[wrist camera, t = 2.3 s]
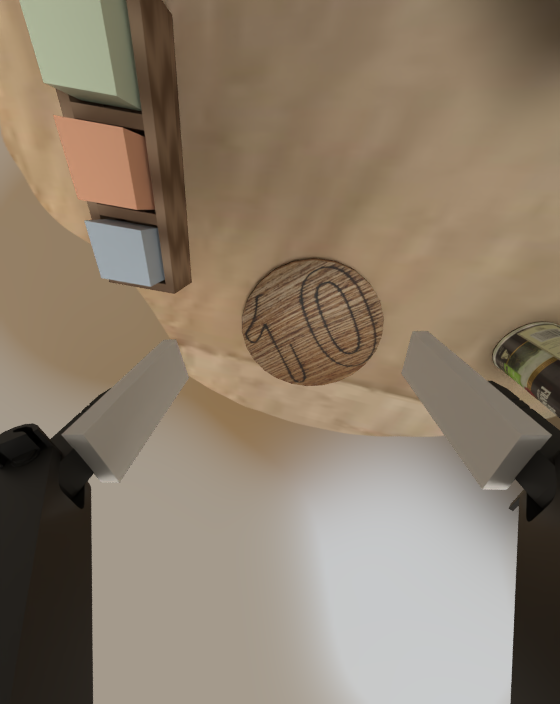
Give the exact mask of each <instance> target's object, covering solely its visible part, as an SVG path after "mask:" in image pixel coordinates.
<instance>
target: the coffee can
mask: <svg viewBox="0 0 560 704" xmlns="http://www.w3.org/2000/svg"><path fill="white" fill-rule="evenodd" d="M493 362H494V364H495V365H496V366H497V367H498V368H500V369H501V370H503V371H504V372H505V373H506V374H507V375H508V376H510V377H511V378H512V379H513V380H515V381H516V382H517V383H518V384H519V385H521V386H522V387H523V388H524V389H525V390H527V391H528V392H529V393H530V394H531V395H533V396H534V397H535V398H536V399H538V400H539V401H540V402H541V403H542V404H543V405H545V406H546V407H547V408H548V409H550V410H551V411H552V412H553V413H554V414H556V415H557V416H558V417H559V418H560V326H559V325H557V324H555V323H551V322H537V323H532V324H528V325H525V326H523V327H520V328H518V329H516V330H514V331H512V332H511V333H510V334H508V335H507V336H505V337H504V338H503V339H502V340H501V341H500V342H499V343H498V345H497V346H496V348H495V349H494V352H493Z"/></svg>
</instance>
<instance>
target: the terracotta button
mask: <svg viewBox="0 0 560 704" xmlns="http://www.w3.org/2000/svg"><path fill="white" fill-rule="evenodd" d="M53 116H54V119H55V123H56V126H57V129H58V133H59V136H60V140H61V143H62V146H63V150H64V153H65V157H66V160H67V163H68V167H69V170H70V173H71V177H72V180H73V184H74V187H75V190H76V194H77V197H78V199H79V200H85V201H90V202H96V203H101V204H107V205H113V206H118V207H124V208H129V209H135V210H155V204H154V196H153V189H152V182H151V175H150V167H149V160H148V153H147V146H146V139H145V137H144V136H141V135H139V134H137V133H134V132H132V131H130V130H127V129H125V128H123V127H117V126H111V125H106V124H100V123H95V122H89V121H84V120H78V119H73V118H67V117H61V116H56V115H53Z"/></svg>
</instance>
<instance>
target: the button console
mask: <svg viewBox="0 0 560 704" xmlns="http://www.w3.org/2000/svg"><path fill="white" fill-rule="evenodd" d="M126 1H127V9H128V16H129V23H130V30H131V38H132V45H133V52H134V59H135V66H136V74H137V81H138V88H139V95H140V102H141V110H142V111H139V110H133V109H128V108H122V107H116V106H111V105H105V104H100V103H94V102H89V101H83V100H79V99H77V98H75V97H73V96H71V95H69V94H67V93H64V92H62V91H60V90H58V89H56V92H57V96H58V99H59V103H60V106H61V110H62V113H63V117H67V118H73V119H78V120H84V121H89V122H95V123H100V124H106V125H111V126H117V127H123V128H125V129H127V130H130V131H132V132H134V133H137V134H139V135H141V136H144V137H145V139H146V146H147V153H148V160H149V167H150V175H151V182H152V189H153V196H154V204H155V210H135V209H129V208H124V207H118V206H113V205H107V204H101V203H96V202H90V201H87V203H88V207H89V210H90V214H91V218H92V220H100V219H112V220H118V221H124V222H129V223H135V224H140V225H146V226H152V227H157V228H158V232H159V240H160V247H161V254H162V261H163V268H164V276H165V280H163V281H161V282H159V283H157V284H155V285H153V286H151V287H149V286H144V285H138V284H132V283H127V282H121V281H116V280H110V279H109V282H112V283H118V284H124V285H129V286H134V287H140V288H146V289H151V290H157V291H162V292H168V293H174V294H175V293H176V292H178V291H179V290H181V289H182V288H184V287H185V286H187V285H188V284H190V283H191V268H190V254H189V241H188V227H187V213H186V200H185V186H184V172H183V159H182V145H181V131H180V118H179V104H178V90H177V77H176V63H175V49H174V36H173V22H172V15H171V13H170V12H169V10H168V9H167V7H166V6H165V5H164V3H163V2H162V0H126Z"/></svg>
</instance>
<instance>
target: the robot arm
mask: <svg viewBox="0 0 560 704" xmlns="http://www.w3.org/2000/svg"><path fill="white" fill-rule="evenodd" d="M401 374H402V375H403V376H404V378H405V379H406V381H407V382H408V384H409V385H410V386H411V388H412V389H413V391H414V392H415V394H416V395H417V396H418V398H419V399H420V401H421V402H422V404H423V405H424V406H425V408H426V409H427V411H428V412H429V414H430V415H431V416H432V418H433V419H434V421H435V422H436V424H437V425H438V426H439V428H440V429H441V431H442V432H443V434H444V435H445V437H446V438H447V439H448V441H449V442H450V444H451V445H452V447H453V448H454V449H455V451H456V452H457V454H458V455H459V456H460V458H461V459H462V461H463V462H464V464H465V465H466V467H467V468H468V469H469V471H470V472H471V474H472V475H473V477H474V478H475V479H476V481H477V482H478V484H479V485H480V487H481V488H482V489H497V490H498V489H499V490H500V489H501V490H506V489H507V488H508V487H509V486H510V485H511V484H512V482H513V481H514V480H515V479H516V480H517V481H518V482H519V484H520V485H521V486H522V487H523V488H524V490H523V491H522V492H521V493H520V494H519V495H518V497H517V498H516V499H515V500H514V501H513V502H512V503H511V505H510V507H509V509H511V510H512V511H513V510H514V509H515V508H516V507H517V506H519V521H518V544H517V567H516V591H515V614H514V638H513V660H512V684H511V704H560V430H558V429H557V428H556V427H555V426H553V425H552V424H551V423H550V422H548V421H547V420H546V419H545V418H543V417H542V416H541V415H540V414H538V413H537V412H536V411H535V410H533V409H530V407H529V406H528V405H527V404H526V403H524V402H523V401H522V400H519V398H518V397H517V396H516V395H514V394H513V393H512V392H511V391H509V390H508V389H507V388H505V387H503V386H501V385H499V384H497V383H495V382H493V381H487V380H485V379H484V378H483V377H482V376H481V375H479V374H478V373H477V372H476V371H475V370H474V369H472V368H471V367H470V366H469V365H468V364H466V363H465V362H464V361H463V360H462V359H460V358H459V357H458V356H457V355H456V354H454V353H453V352H452V351H451V350H450V349H448V348H447V347H446V346H445V345H444V344H442V343H441V342H440V341H439V340H438V339H436V338H435V337H434V336H433V335H432V334H430V333H429V332H428V331H415V332H412V335H411V339H410V343H409V347H408V351H407V354H406V358H405V362H404V366H403V370H402V373H401ZM188 378H189V376H188V373H187V370H186V368H185V365H184V362H183V359H182V356H181V353H180V350H179V347H178V344H177V341H176V339H175V340H163V341H162V342H161V343H160V344H158V345H157V346H156V347H155V348H154V349H153V350H152V351H151V352H150V353H149V354H148V355H147V356H146V357H144V358H143V359H142V360H141V361H140V362H139V363H138V364H137V365H136V366H135V367H134V368H133V369H131V371H129V372H128V373H127V374H126V375H125V376H124V377H123V378H122V379H121V380H120V381H119V382H117V383H116V384H115V385H114V386H113V387H112V388H110V389H108V390H107V391H105V392H104V393H102V394H100V395H99V396H98V397H97V398H96V399H94V400H93V401H92V402H91V403H90V405H89V406H87V407H85V408H84V409H83V410H82V412H81V413H79V414H78V415H77V416H76V417H74V418H73V419H72V420H71V421H70V422H69V423H68V424H67V425H66V426H65V427H63V428H62V429H61V430H60V431H59V432H58V433H57V434H56V435H55V436H53V438H51V439H49V438H48V437H47V436H46V434H45V433H44V432H43V431H42V430H41V429H40V428H39V427H38V425H35V424H24V425H21V426H17V427H14V428H12V429H10V430H8V431H5V432H3V433H2V434H0V704H93V661H92V660H93V659H92V658H93V657H92V556H91V555H92V550H91V549H92V545H91V486H90V484H89V483H88V480H89V478H90V477H91V476H92V475H93V473H94V474H95V475H96V477H97V478H98V479H99V480H100V481H101V482H120V481H121V480H122V478H123V477H124V475H125V474H126V472H127V471H128V469H129V468H130V466H131V465H132V463H133V461H134V460H135V458H136V457H137V456H138V454H139V452H140V451H141V449H142V448H143V446H144V445H145V443H146V442H147V440H148V439H149V437H150V436H151V434H152V433H153V431H154V430H155V428H156V427H157V425H158V424H159V422H160V421H161V419H162V418H163V416H164V414H165V413H166V412H167V410H168V409H169V407H170V406H171V404H172V402H173V401H174V399H175V398H176V396H177V395H178V393H179V392H180V390H181V389H182V387H183V386H184V384H185V383H186V381H187V380H188Z"/></svg>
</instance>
